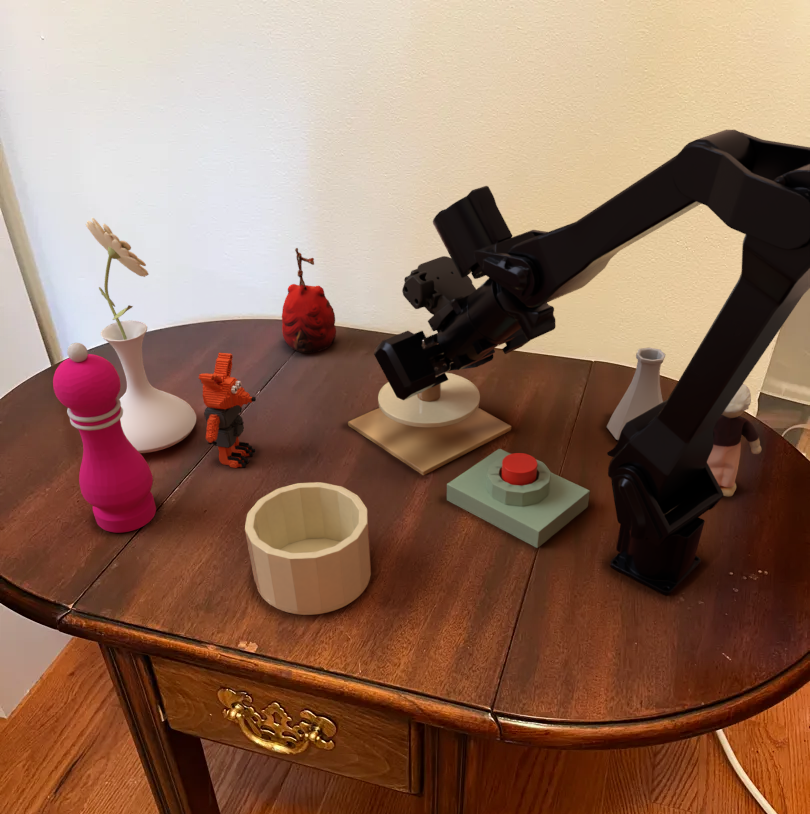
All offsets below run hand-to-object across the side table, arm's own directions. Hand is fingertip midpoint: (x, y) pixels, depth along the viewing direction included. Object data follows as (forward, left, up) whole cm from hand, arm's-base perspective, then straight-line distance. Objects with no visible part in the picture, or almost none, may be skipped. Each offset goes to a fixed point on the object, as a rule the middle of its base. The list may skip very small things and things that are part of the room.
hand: (421, 372), depth 98 cm
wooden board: (-1, 0, -7) cm, 7 cm away
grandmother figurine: (-32, -11, -7) cm, 35 cm away
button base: (-18, +5, -7) cm, 20 cm away
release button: (-18, +5, -3) cm, 19 cm away
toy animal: (+11, +19, -7) cm, 23 cm away
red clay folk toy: (+26, -5, -7) cm, 27 cm away
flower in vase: (+24, +23, -7) cm, 34 cm away
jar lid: (-1, 0, -3) cm, 3 cm away
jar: (-10, +27, -7) cm, 30 cm away
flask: (-20, -16, -7) cm, 27 cm away
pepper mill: (+12, +34, -7) cm, 37 cm away
